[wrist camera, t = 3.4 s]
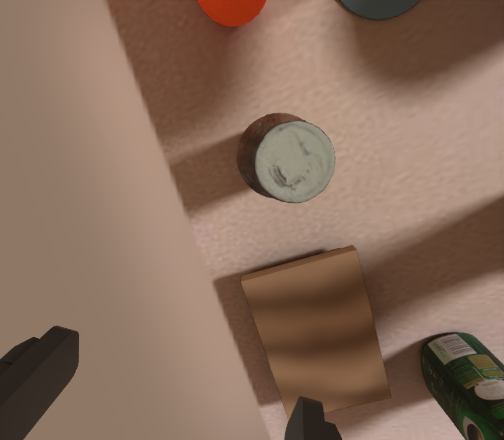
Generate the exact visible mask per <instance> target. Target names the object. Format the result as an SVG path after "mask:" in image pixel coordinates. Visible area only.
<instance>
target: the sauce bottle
mask: <svg viewBox="0 0 504 440" xmlns="http://www.w3.org/2000/svg"><path fill="white" fill-rule="evenodd" d="M237 162H238V167H239V170H240V173H241V175H242V177H243V179H244V180H245V182H246V183H247V184H248V185H249V186H250V187H251V188H252V189H253V190H254V191H255V192H257V193H259V194H261V195H263V196H265V197H269V198H274V199H276V200H279V201H282V202H287V203H301V202H305V201H308V200H310V199H312V198H314V197H315V196H317V195H318V194H319V193H320V192H322V191H323V190H324V189H325V188H326V186H327V185H328V183H329V181H330V179H331V177H332V175H333V172H334V166H335V152H334V148H333V146H332V143H331V141H330V139H329V138H328V136H327V135H326V134H325V133H324V132H323V131H322V130H321V129H320V128H319V127H317V126H315V125H313V124H311V123H308V122H306V121H305V120H302V119H300V118H299V117H297V116H294V115H290V114H286V113H273V114H268V115H266V116H264V117H261V118H260V119H258V120H256V121H255V122H253V123H252V124H251V125H250V126H249V127H248V128H247V129H246V130H245V132H244V133H243V135H242V137H241V139H240V141H239V145H238V150H237Z"/></svg>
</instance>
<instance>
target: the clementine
mask: <svg viewBox="0 0 504 440" xmlns="http://www.w3.org/2000/svg"><path fill="white" fill-rule="evenodd" d="M197 1H198V3H199V5H200V6H201V8H202V9H203V10H204V12H205V13H206V14H207V15H208V16H209V17H210V18H211V19H213V20H214V21H215V22H217V23H219V24H222V25H224V26H232V27H235V26H240V25H244V24H246V23H248V22H250V21H251V20H253V19H254V18H255V17H256V16H257V15H258V14H259V12H260V11H261V9H262V8H263V6H264V4H265V2H266V0H197Z"/></svg>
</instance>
